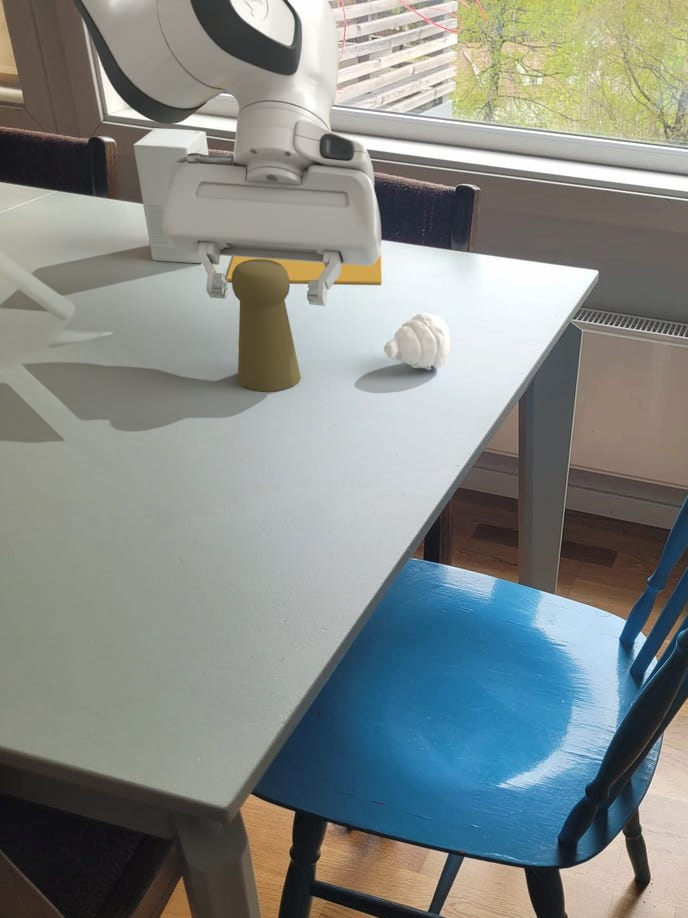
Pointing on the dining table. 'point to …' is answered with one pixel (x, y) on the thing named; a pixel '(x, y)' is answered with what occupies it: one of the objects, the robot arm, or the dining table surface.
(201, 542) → the dining table surface
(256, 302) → the cork
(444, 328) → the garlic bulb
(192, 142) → the small box
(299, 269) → the linen cloth
